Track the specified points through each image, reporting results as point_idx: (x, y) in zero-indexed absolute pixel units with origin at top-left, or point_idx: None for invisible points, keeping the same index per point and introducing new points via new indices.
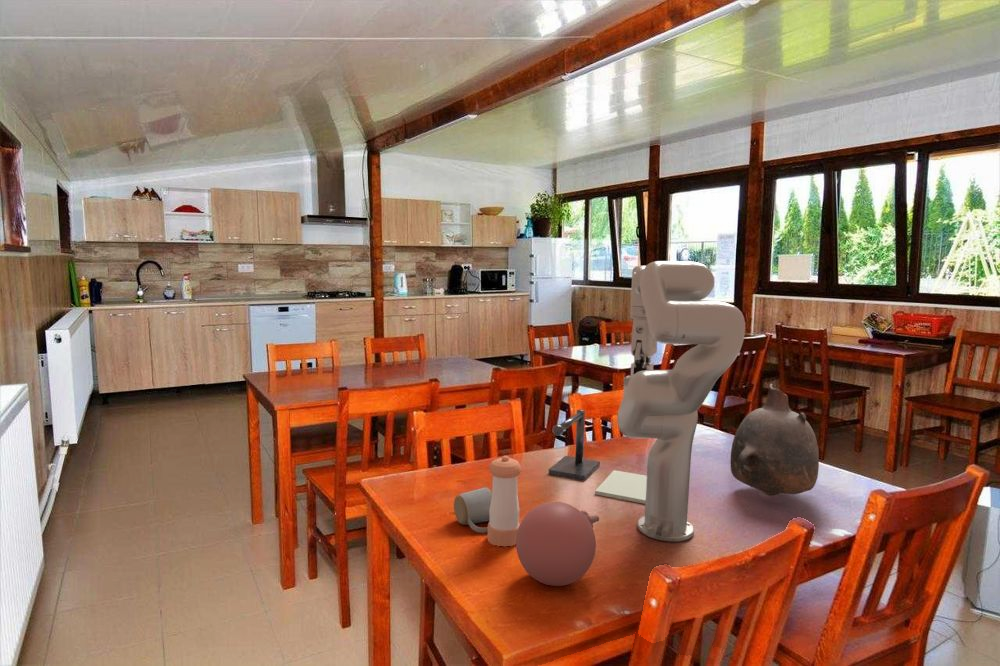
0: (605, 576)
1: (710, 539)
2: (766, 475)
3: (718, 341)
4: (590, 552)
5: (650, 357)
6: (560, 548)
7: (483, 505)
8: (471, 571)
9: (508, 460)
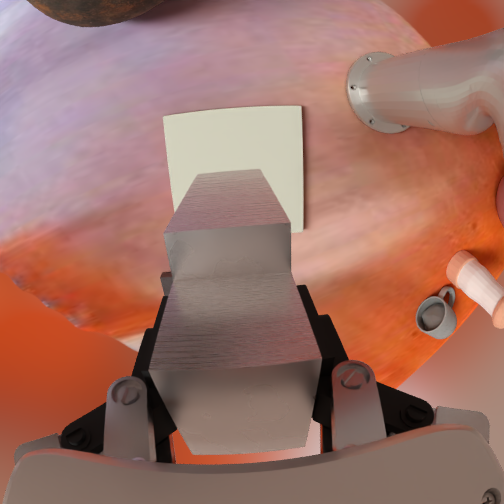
0: (492, 150)
1: (378, 31)
2: None
3: None
4: None
5: (108, 432)
6: None
7: (450, 310)
8: (498, 257)
9: None
